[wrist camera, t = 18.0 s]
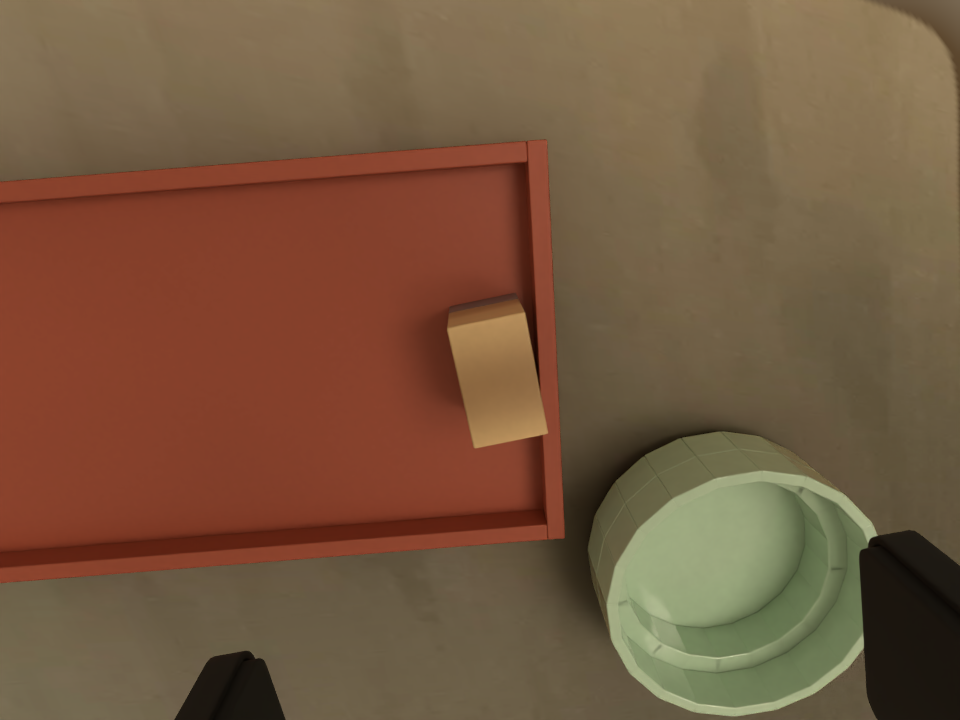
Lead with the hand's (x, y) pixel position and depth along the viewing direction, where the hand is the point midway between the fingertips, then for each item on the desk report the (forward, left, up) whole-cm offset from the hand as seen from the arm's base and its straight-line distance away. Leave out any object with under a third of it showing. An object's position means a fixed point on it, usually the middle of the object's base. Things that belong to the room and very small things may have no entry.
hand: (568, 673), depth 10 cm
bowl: (0, +14, -20) cm, 25 cm away
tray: (+11, -10, -20) cm, 25 cm away
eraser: (0, 0, -20) cm, 20 cm away
